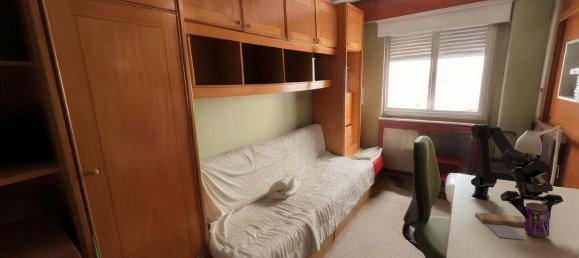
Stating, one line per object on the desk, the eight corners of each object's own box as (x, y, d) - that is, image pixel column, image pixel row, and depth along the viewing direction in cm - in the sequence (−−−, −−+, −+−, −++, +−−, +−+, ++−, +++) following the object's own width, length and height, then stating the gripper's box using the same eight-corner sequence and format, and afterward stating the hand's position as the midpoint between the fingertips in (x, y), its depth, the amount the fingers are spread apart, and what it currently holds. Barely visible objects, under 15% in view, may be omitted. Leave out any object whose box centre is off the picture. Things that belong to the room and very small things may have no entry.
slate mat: (509, 226, 106) (509, 226, 106) (524, 240, 97) (524, 239, 97) (485, 224, 107) (485, 224, 107) (498, 237, 99) (498, 236, 99)
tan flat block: (525, 219, 111) (525, 216, 110) (535, 227, 105) (536, 223, 105) (475, 215, 115) (475, 212, 114) (482, 222, 109) (482, 219, 109)
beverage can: (541, 240, 96) (541, 212, 94) (520, 231, 102) (519, 204, 101) (554, 235, 97) (554, 207, 95) (532, 226, 104) (532, 200, 102)
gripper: (508, 172, 101) (521, 211, 93) (565, 176, 97) (583, 217, 89) (495, 182, 110) (505, 218, 102) (546, 186, 106) (561, 224, 98)
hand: (537, 219), depth 98 cm, fingers closed on beverage can, 7 cm apart
